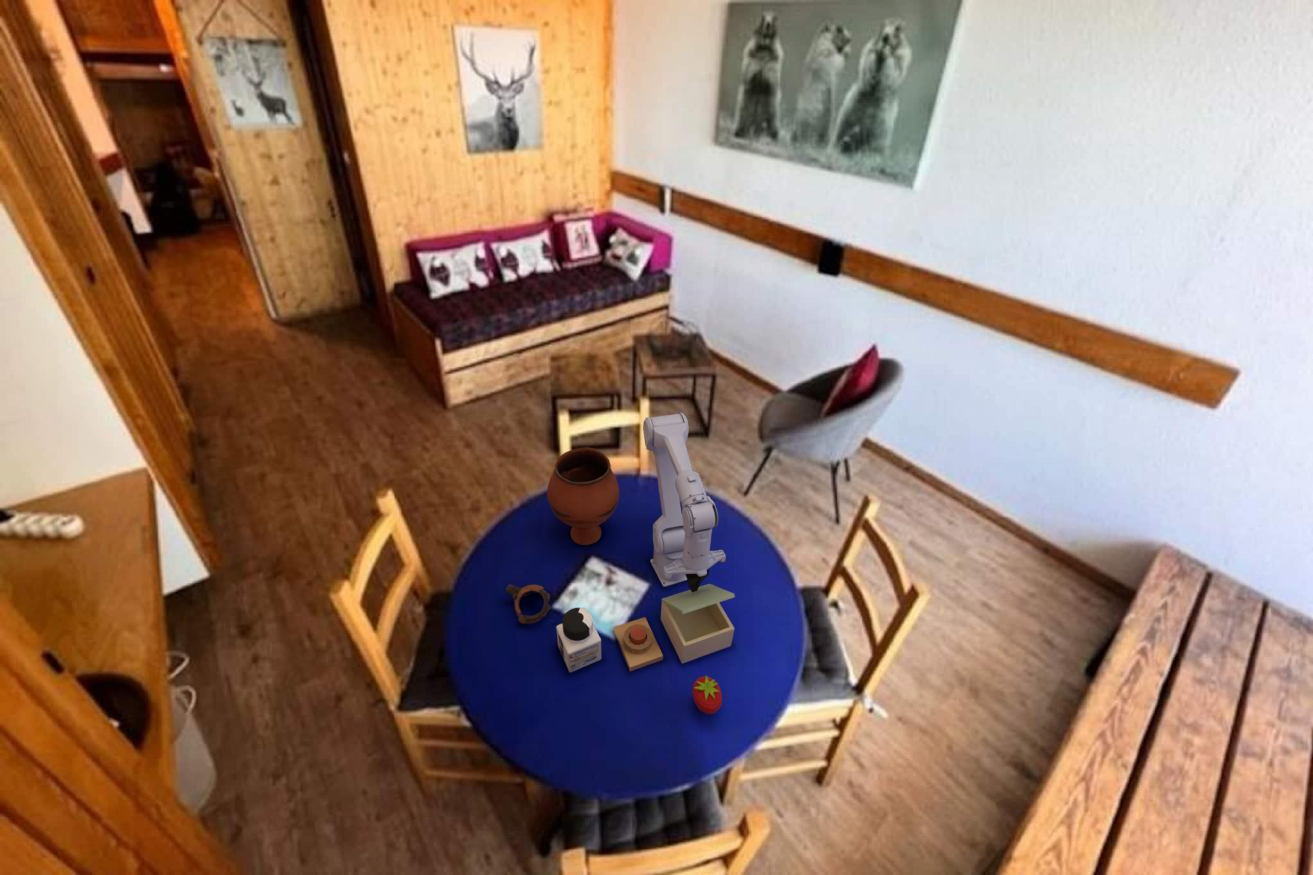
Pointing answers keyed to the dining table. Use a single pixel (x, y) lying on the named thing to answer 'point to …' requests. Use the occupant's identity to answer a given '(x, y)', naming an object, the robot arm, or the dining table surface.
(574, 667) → the container
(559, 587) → the dining table surface
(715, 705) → the strawberry
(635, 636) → the button
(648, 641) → the control block
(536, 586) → the rusty metal ring
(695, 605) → the lid
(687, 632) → the wooden box
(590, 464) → the goblet
